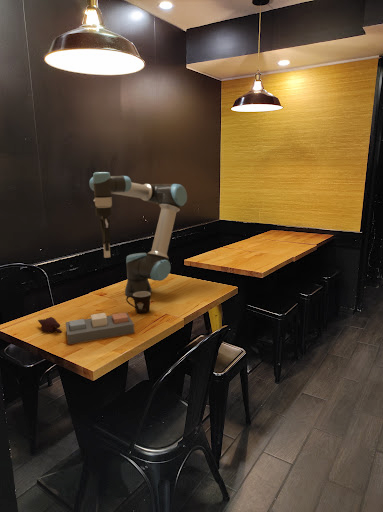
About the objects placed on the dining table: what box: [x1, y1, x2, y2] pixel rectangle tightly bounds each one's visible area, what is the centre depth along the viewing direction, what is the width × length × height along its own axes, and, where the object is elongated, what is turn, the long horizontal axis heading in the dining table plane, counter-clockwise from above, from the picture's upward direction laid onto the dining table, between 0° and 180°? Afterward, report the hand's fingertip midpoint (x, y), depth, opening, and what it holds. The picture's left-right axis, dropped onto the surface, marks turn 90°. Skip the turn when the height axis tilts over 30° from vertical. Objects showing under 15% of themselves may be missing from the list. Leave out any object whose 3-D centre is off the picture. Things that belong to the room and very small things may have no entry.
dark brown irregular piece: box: [37, 316, 63, 334], centre depth 162 cm, size 7×7×15 cm
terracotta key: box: [111, 312, 128, 324], centre depth 162 cm, size 6×6×4 cm
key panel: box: [65, 312, 135, 345], centre depth 159 cm, size 27×14×5 cm, turn 111°
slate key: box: [68, 318, 86, 331], centre depth 155 cm, size 6×6×4 cm
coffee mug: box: [125, 291, 152, 315], centre depth 182 cm, size 12×9×10 cm
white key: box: [90, 312, 107, 327], centre depth 158 cm, size 6×6×4 cm
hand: (107, 257), depth 173 cm, fingers closed
